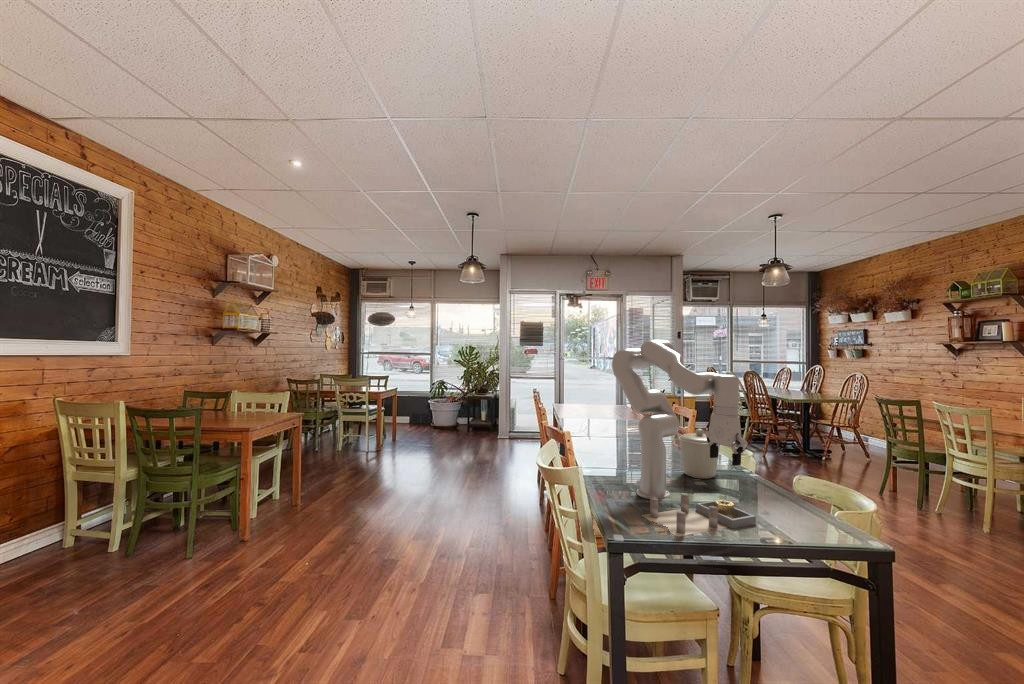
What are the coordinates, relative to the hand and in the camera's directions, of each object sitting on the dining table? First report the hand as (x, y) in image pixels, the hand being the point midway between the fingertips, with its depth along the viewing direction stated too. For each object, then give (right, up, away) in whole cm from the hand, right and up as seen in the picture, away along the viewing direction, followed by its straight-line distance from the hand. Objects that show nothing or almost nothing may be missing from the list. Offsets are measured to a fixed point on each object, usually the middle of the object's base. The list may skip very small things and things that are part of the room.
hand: (724, 461), depth 157 cm
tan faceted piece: (0, -19, 0) cm, 19 cm away
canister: (+12, -20, +51) cm, 56 cm away
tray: (0, -20, 0) cm, 20 cm away
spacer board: (-16, -20, -4) cm, 26 cm away
